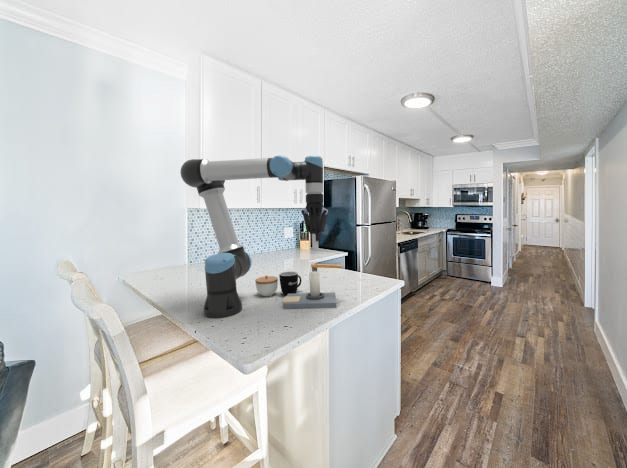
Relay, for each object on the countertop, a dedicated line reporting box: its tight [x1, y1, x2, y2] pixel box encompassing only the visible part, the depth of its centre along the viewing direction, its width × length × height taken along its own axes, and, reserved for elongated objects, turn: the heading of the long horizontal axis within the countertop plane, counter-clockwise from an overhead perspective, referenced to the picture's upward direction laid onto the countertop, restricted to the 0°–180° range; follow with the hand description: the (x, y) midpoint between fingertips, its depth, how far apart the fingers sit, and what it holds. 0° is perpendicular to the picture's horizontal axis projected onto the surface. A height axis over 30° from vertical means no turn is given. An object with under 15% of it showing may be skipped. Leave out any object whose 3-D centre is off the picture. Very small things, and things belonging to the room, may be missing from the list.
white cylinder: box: [308, 270, 321, 297], centre depth 121 cm, size 4×4×11 cm
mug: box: [278, 271, 302, 297], centre depth 134 cm, size 12×9×10 cm
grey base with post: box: [282, 267, 337, 310], centre depth 120 cm, size 22×14×14 cm, turn 87°
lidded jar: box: [255, 274, 279, 297], centre depth 134 cm, size 11×11×9 cm
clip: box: [310, 263, 343, 269], centre depth 123 cm, size 14×3×1 cm, turn 69°
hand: (315, 248), depth 119 cm, fingers closed
